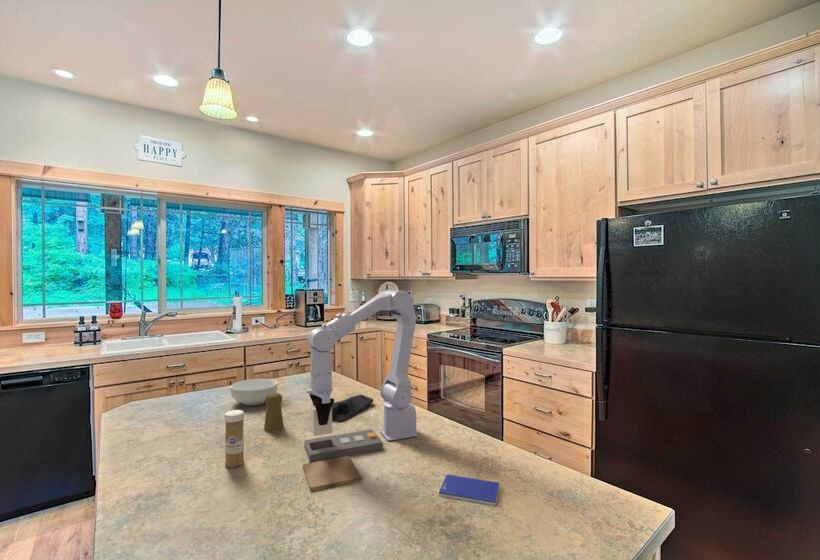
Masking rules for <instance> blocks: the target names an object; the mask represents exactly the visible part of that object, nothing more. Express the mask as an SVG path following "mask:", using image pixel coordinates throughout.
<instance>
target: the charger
mask: <svg viewBox="0 0 820 560" xmlns="http://www.w3.org/2000/svg"><path fill="white" fill-rule="evenodd" d="M310 411H311V412H310V416H311V418H310V419H311V420H310V422H311V423H310V424H311V425H310V426H311V433H312V435H313V436H312V437H318V436H322V435H330V434H333V421H332V407H331V410H330V414H329V419H328V423H327V425H319V422H318V417H317V411H316V408H315V405H313V404H312V405H311V406H310Z"/></svg>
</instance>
